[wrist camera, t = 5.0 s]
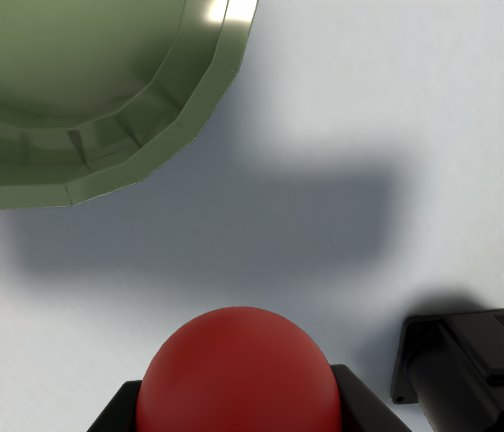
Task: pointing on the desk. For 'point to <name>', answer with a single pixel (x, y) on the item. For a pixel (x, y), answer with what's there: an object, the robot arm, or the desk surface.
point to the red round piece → (239, 378)
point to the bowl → (107, 90)
